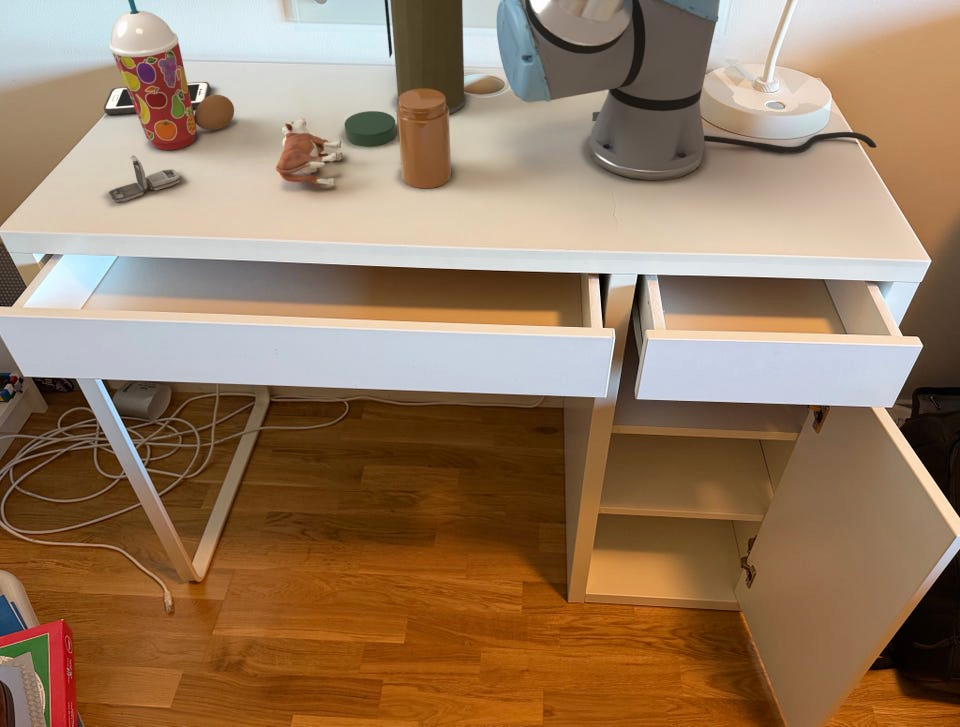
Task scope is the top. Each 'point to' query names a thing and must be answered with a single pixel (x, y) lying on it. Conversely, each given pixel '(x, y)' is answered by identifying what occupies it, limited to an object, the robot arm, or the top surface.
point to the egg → (214, 112)
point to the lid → (370, 128)
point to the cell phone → (123, 104)
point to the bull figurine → (304, 154)
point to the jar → (424, 138)
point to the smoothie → (154, 77)
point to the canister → (428, 47)
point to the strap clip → (145, 182)
